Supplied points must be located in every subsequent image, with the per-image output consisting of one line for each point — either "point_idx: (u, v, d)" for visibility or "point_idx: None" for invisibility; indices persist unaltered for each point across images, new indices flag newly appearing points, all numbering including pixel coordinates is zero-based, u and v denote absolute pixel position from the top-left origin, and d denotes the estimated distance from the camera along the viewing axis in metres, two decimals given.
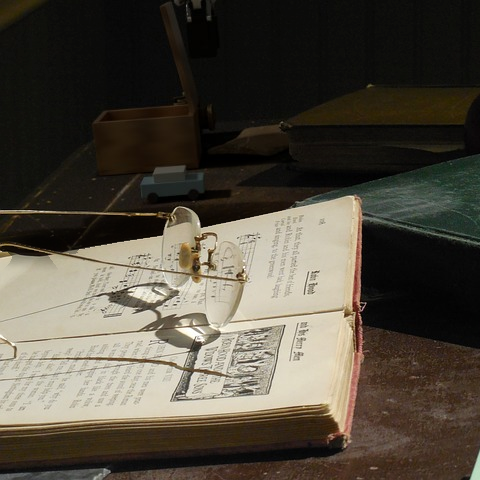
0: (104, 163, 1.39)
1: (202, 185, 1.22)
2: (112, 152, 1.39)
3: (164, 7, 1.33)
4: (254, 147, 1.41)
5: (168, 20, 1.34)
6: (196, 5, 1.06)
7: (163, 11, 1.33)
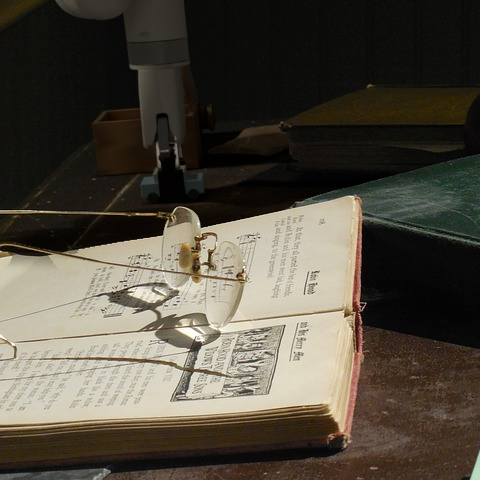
0: (104, 163, 1.39)
1: (202, 185, 1.22)
2: (112, 152, 1.39)
3: None
4: (254, 147, 1.41)
5: None
6: (166, 161, 1.17)
7: None
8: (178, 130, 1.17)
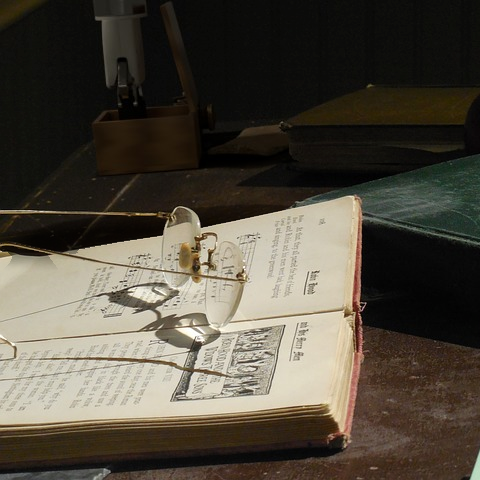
0: (104, 163, 1.39)
1: None
2: (112, 152, 1.39)
3: (164, 7, 1.33)
4: (254, 147, 1.41)
5: (168, 20, 1.34)
6: (124, 97, 1.36)
7: (163, 11, 1.33)
8: (136, 72, 1.37)
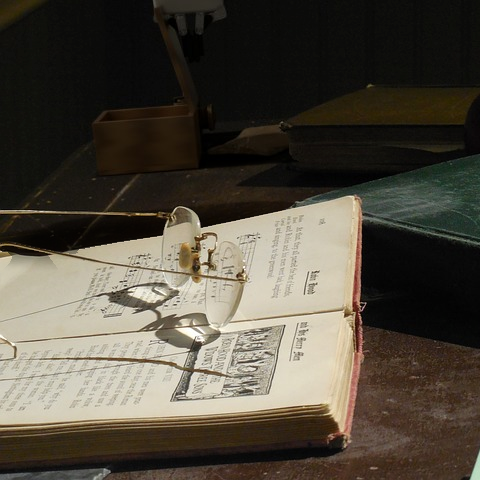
0: (104, 163, 1.39)
1: None
2: (112, 152, 1.39)
3: (158, 9, 1.33)
4: (254, 147, 1.41)
5: (162, 21, 1.34)
6: None
7: (157, 13, 1.33)
8: None
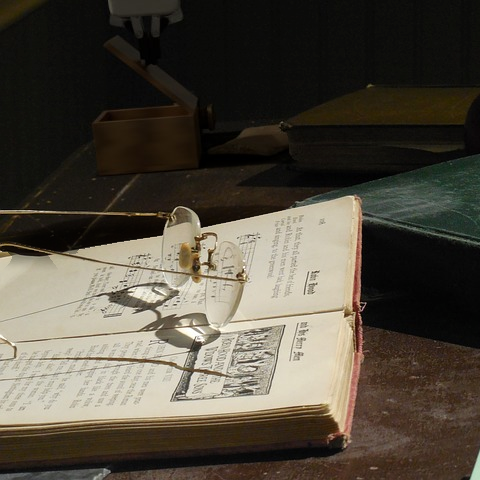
0: (104, 163, 1.39)
1: None
2: (112, 152, 1.39)
3: (107, 43, 1.34)
4: (254, 147, 1.41)
5: (118, 51, 1.35)
6: (126, 27, 1.39)
7: (109, 47, 1.34)
8: (109, 1, 1.36)
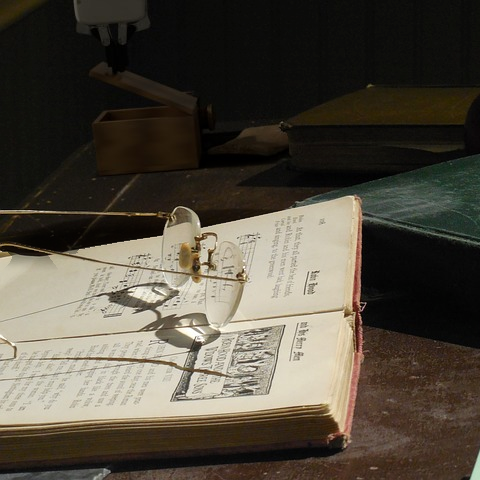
0: (104, 163, 1.39)
1: None
2: (112, 152, 1.39)
3: (92, 72, 1.35)
4: (254, 147, 1.41)
5: (104, 76, 1.35)
6: None
7: (94, 75, 1.35)
8: (75, 9, 1.36)
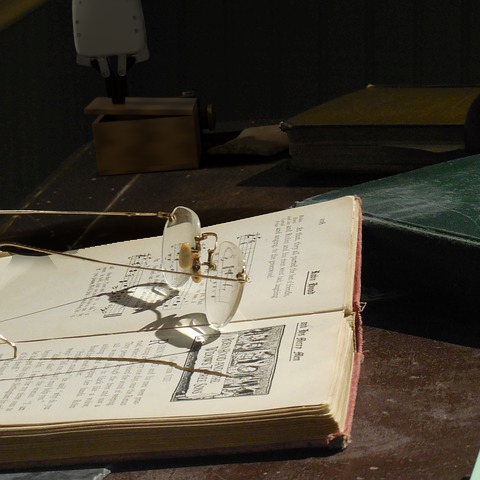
0: (104, 163, 1.39)
1: None
2: (112, 152, 1.39)
3: (86, 110, 1.37)
4: (254, 147, 1.41)
5: (99, 109, 1.37)
6: None
7: (89, 112, 1.37)
8: (75, 42, 1.38)
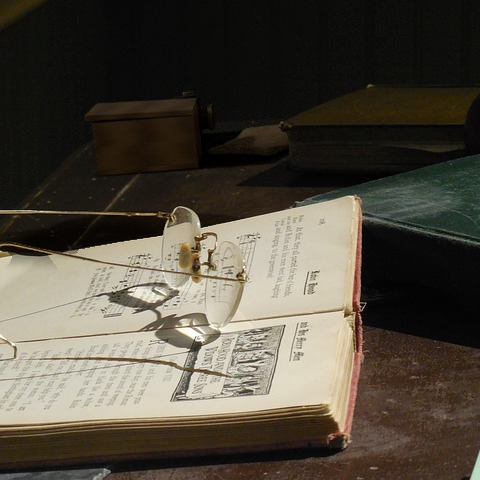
0: (104, 163, 1.39)
1: None
2: (112, 152, 1.39)
3: (86, 116, 1.37)
4: (254, 147, 1.41)
5: (99, 115, 1.37)
6: None
7: (90, 118, 1.37)
8: None
